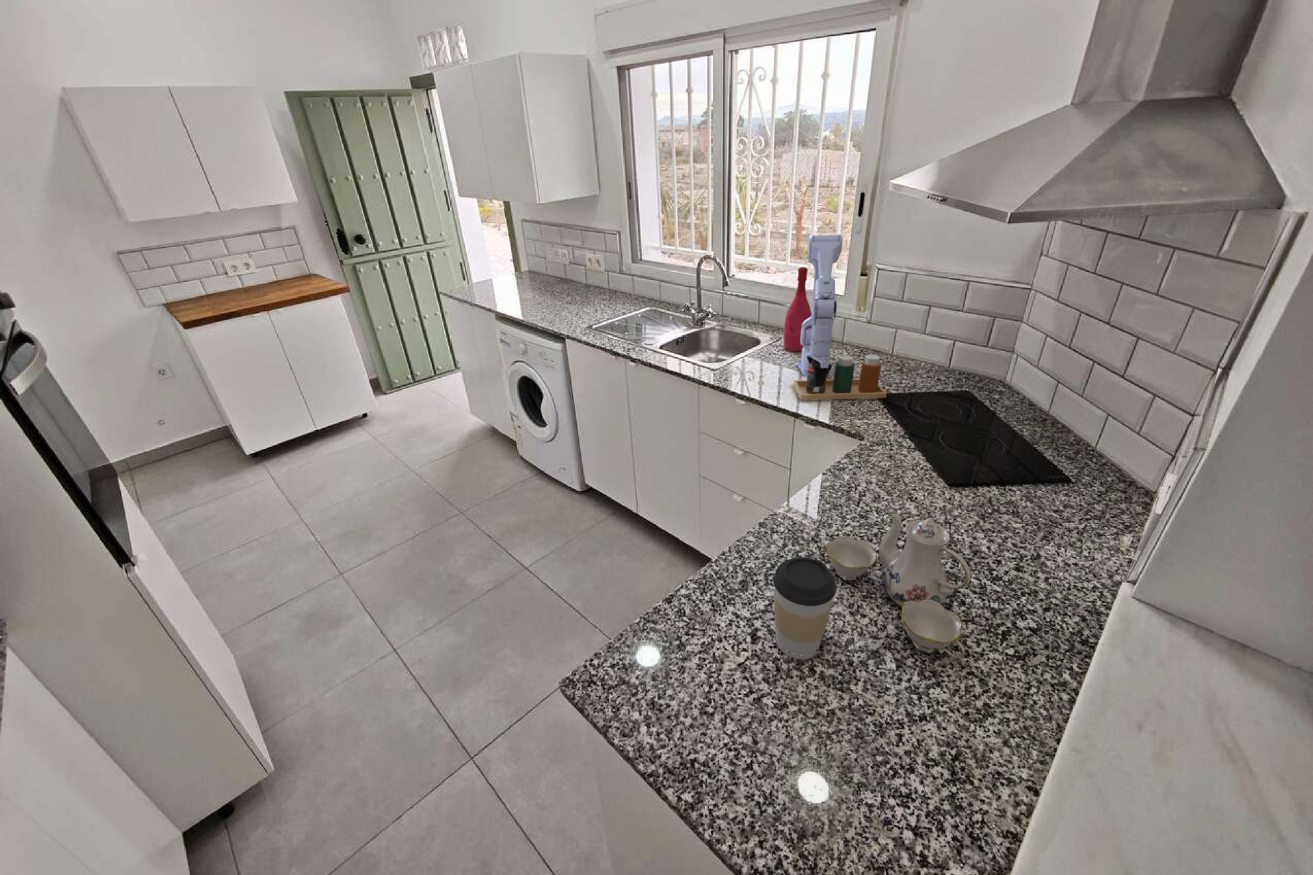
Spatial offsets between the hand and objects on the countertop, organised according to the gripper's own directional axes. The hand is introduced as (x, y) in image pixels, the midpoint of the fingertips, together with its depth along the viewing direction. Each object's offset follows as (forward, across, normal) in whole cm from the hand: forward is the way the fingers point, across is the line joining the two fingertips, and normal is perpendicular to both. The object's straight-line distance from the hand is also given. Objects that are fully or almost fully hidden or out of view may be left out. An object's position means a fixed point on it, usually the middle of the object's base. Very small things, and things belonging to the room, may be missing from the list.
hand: (816, 381), depth 167 cm
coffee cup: (+4, +96, -24) cm, 99 cm away
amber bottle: (+3, 0, +16) cm, 16 cm away
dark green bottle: (+3, 0, +8) cm, 9 cm away
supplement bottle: (+4, 0, 0) cm, 4 cm away
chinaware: (+4, +87, -5) cm, 87 cm away
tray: (+4, 0, +7) cm, 8 cm away
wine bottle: (+4, -42, +2) cm, 42 cm away
